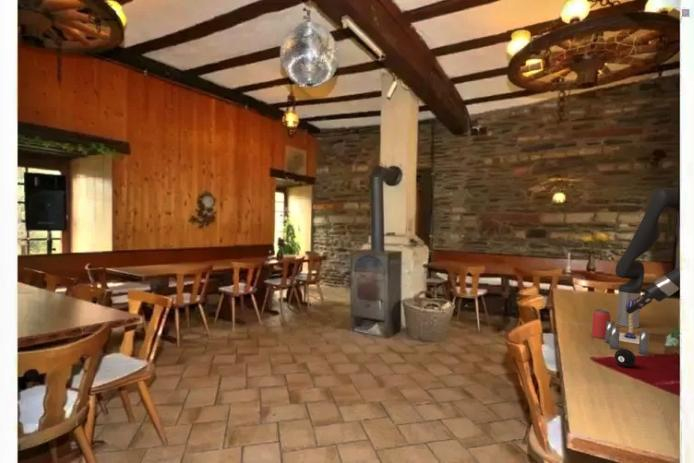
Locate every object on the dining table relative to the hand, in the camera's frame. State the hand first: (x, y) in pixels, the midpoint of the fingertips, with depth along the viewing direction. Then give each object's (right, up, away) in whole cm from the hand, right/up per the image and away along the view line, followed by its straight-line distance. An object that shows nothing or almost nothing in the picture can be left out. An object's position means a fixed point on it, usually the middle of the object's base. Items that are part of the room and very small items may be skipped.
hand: (627, 310), depth 174 cm
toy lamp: (+1, -12, -1) cm, 12 cm away
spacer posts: (-12, -13, -14) cm, 22 cm away
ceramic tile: (+1, -13, 0) cm, 13 cm away
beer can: (-11, -12, +1) cm, 17 cm away
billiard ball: (-26, -13, -35) cm, 46 cm away
